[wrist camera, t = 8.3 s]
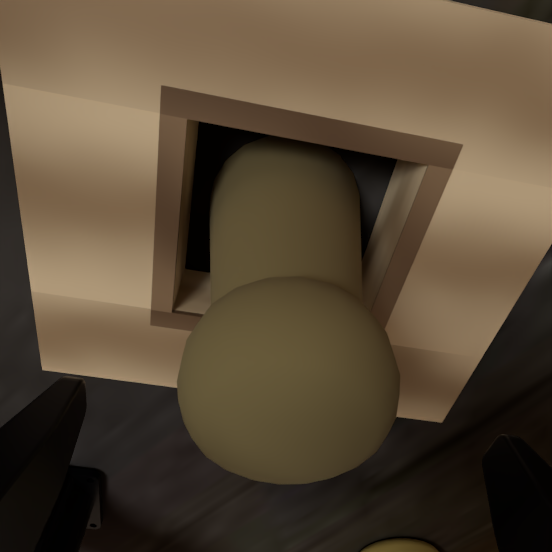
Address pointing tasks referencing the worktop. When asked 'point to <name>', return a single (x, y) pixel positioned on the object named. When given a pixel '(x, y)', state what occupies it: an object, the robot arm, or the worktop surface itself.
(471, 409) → the worktop surface
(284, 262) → the cork
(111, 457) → the worktop surface
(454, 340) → the socket board
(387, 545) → the grey bark cylinder
